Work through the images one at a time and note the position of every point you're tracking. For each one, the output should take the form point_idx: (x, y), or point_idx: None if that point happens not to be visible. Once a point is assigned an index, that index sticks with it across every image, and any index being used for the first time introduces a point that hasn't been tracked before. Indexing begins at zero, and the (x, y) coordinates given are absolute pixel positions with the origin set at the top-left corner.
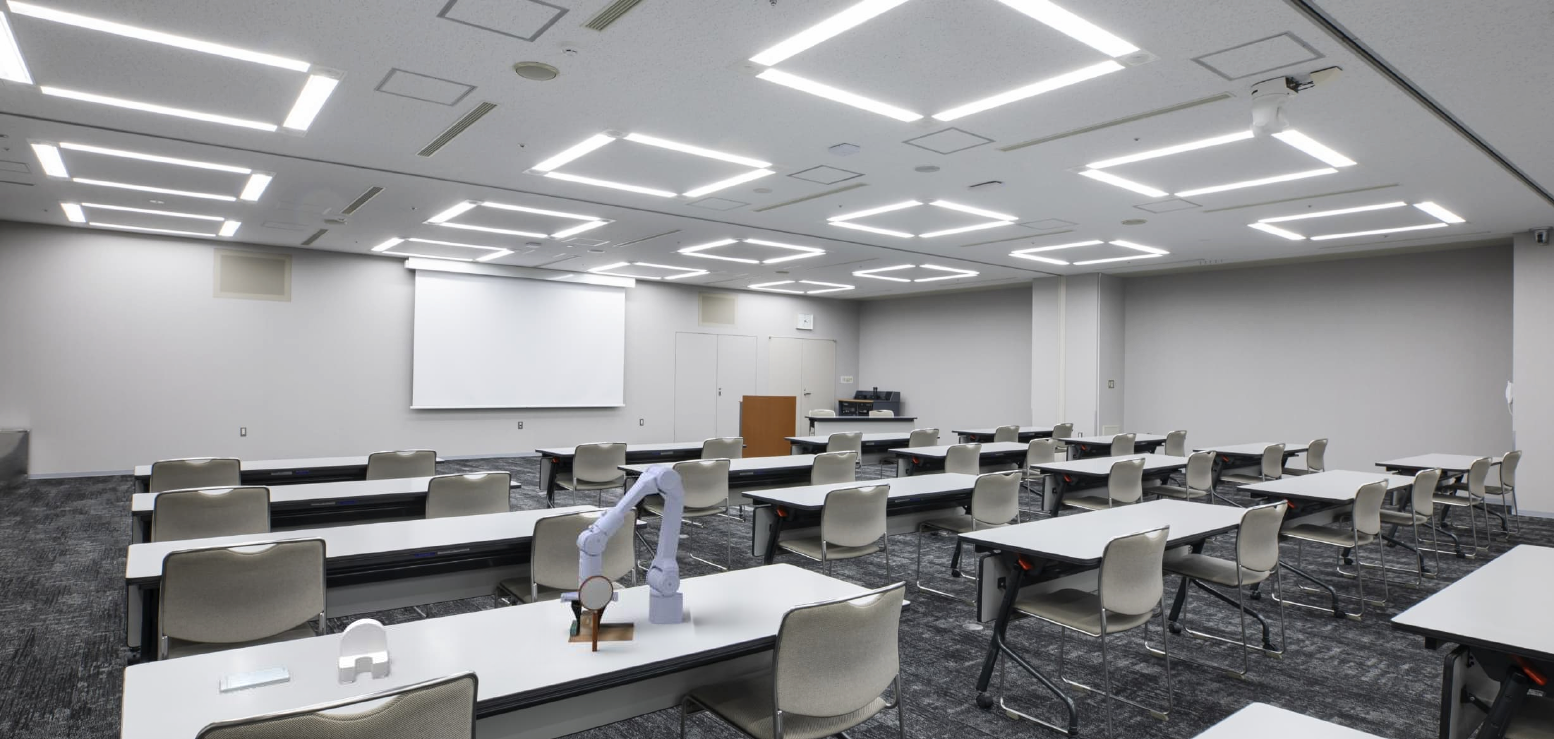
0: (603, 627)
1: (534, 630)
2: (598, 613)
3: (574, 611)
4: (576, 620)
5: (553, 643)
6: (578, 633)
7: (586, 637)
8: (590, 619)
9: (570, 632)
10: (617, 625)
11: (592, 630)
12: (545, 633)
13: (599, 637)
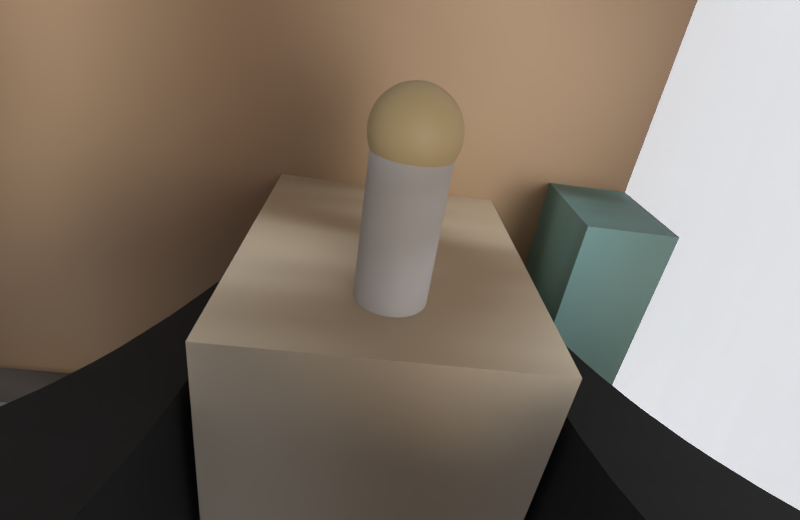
0: None
1: (790, 492)
2: (121, 415)
3: (786, 516)
4: None
5: (767, 177)
6: None
7: None
8: (346, 303)
9: (642, 212)
10: (30, 389)
11: (323, 204)
12: (736, 430)
13: (224, 73)
